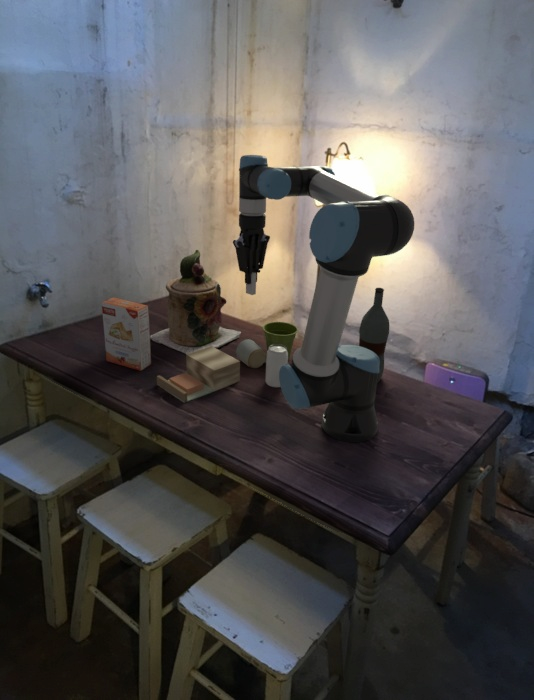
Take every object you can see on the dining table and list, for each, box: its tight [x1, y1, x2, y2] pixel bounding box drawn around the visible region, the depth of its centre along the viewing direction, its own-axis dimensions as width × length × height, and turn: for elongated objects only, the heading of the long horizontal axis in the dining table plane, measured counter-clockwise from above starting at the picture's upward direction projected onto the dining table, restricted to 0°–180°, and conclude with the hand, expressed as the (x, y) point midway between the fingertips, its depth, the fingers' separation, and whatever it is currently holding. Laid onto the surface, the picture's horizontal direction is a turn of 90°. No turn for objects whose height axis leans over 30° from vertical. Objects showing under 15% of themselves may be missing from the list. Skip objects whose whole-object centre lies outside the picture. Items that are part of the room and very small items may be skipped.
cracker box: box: [101, 297, 152, 372], centre depth 182 cm, size 14×6×21 cm, turn 64°
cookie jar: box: [150, 249, 242, 355], centre depth 199 cm, size 25×25×32 cm
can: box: [265, 345, 289, 389], centre depth 175 cm, size 6×6×12 cm
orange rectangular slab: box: [168, 372, 204, 395], centre depth 172 cm, size 9×6×2 cm, turn 44°
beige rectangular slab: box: [185, 346, 241, 392], centre depth 178 cm, size 14×10×7 cm
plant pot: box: [262, 321, 299, 361], centre depth 192 cm, size 12×12×11 cm
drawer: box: [156, 374, 215, 404], centre depth 172 cm, size 14×11×3 cm
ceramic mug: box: [235, 338, 267, 369], centre depth 188 cm, size 11×8×8 cm
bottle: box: [358, 287, 390, 383], centre depth 178 cm, size 9×9×30 cm
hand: (250, 293), depth 170 cm, fingers closed
